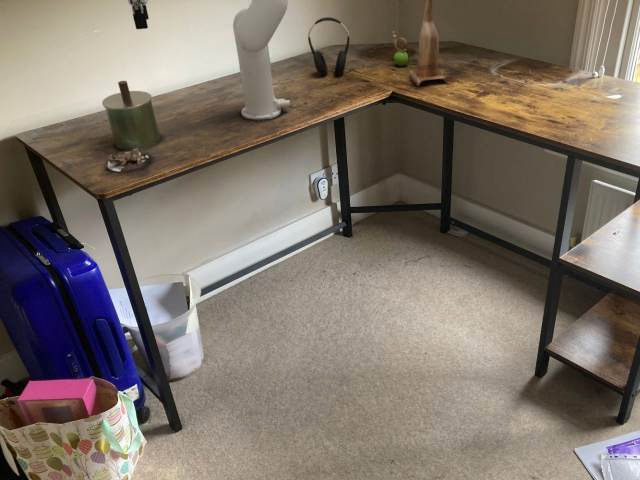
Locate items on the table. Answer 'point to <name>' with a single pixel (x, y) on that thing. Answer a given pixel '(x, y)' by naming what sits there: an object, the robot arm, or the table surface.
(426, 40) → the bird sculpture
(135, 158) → the frog figurine
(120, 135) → the pot
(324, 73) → the headphones
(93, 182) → the table surface
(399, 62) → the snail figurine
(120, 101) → the lid
